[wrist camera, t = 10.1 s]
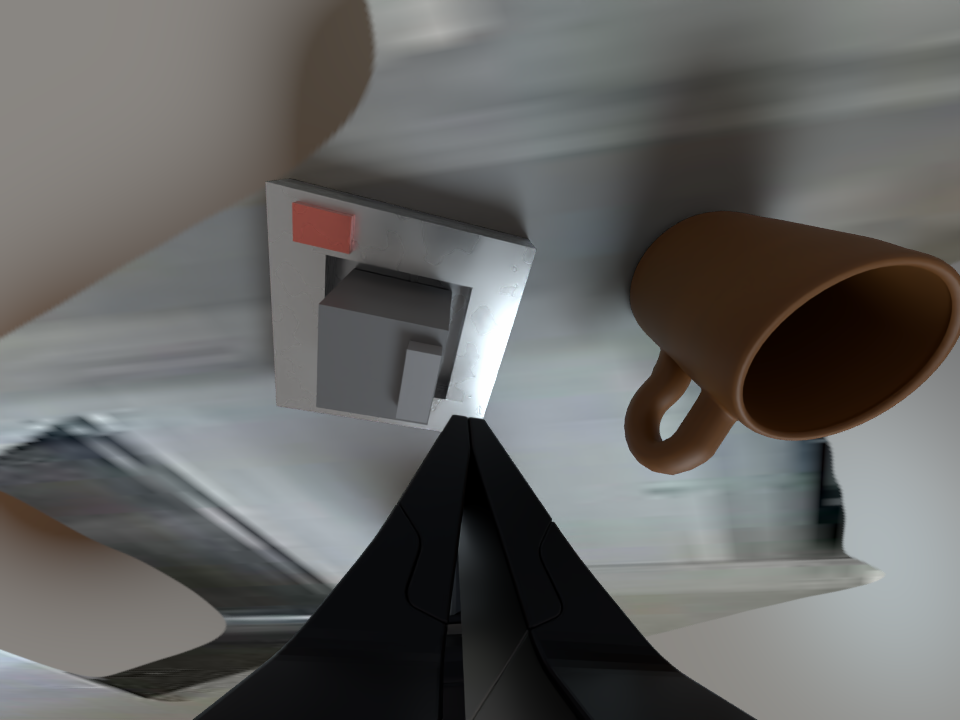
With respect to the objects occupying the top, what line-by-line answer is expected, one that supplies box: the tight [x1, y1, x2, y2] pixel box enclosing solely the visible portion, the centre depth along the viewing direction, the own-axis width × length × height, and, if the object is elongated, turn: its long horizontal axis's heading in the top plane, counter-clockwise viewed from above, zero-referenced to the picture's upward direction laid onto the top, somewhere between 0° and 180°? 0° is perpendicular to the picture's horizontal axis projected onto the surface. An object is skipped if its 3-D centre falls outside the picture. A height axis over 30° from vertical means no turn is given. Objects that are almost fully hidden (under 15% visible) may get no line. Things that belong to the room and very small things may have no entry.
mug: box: [624, 211, 960, 475], centre depth 17 cm, size 12×8×9 cm, turn 144°
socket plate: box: [265, 179, 536, 432], centre depth 19 cm, size 12×12×3 cm
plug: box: [316, 269, 452, 425], centre depth 17 cm, size 5×5×6 cm
